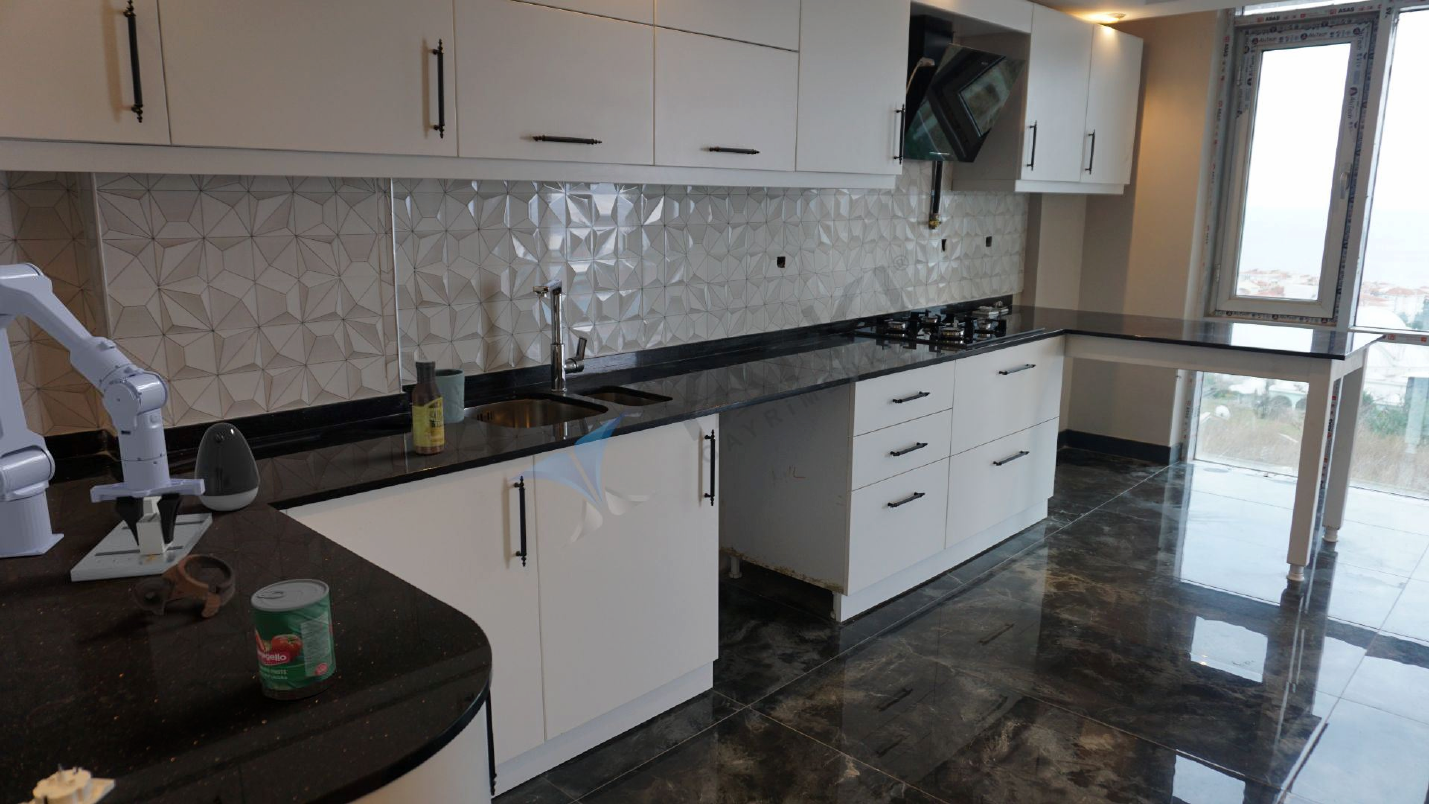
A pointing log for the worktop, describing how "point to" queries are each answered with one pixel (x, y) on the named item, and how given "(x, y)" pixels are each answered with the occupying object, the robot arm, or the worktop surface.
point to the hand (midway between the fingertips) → (155, 542)
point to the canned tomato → (293, 633)
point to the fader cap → (151, 535)
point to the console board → (124, 557)
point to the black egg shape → (226, 469)
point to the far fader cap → (150, 504)
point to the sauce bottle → (427, 410)
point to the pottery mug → (186, 586)
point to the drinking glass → (451, 393)
